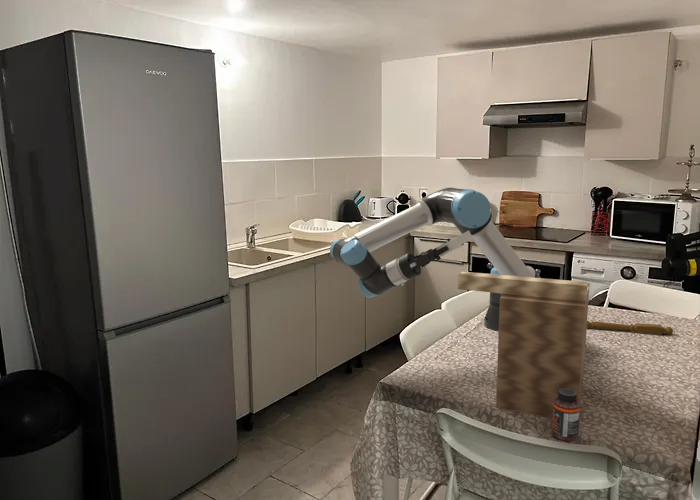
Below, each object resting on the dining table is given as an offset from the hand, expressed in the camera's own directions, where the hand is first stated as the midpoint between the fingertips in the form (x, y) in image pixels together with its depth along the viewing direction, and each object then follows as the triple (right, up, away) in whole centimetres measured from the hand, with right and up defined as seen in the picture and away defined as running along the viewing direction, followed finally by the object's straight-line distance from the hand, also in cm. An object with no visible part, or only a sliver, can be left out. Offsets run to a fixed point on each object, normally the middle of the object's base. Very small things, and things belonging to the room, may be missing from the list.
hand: (465, 238), depth 158 cm
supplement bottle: (+18, -48, -27) cm, 58 cm away
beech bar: (+11, -15, -14) cm, 23 cm away
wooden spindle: (+68, -34, +44) cm, 88 cm away
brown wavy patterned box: (+20, -44, -6) cm, 48 cm away
